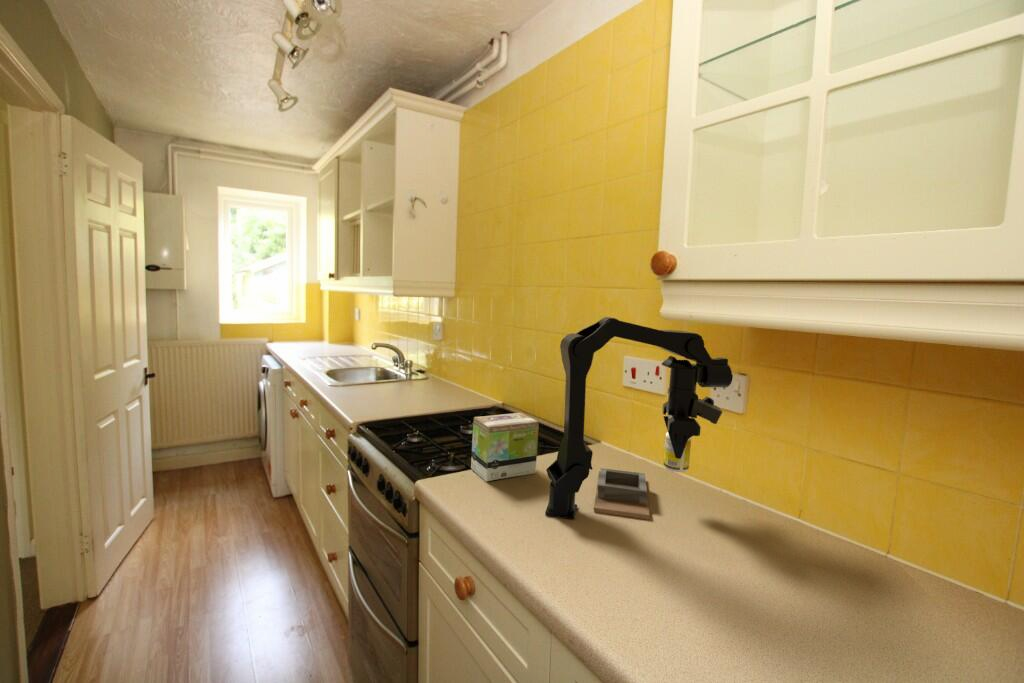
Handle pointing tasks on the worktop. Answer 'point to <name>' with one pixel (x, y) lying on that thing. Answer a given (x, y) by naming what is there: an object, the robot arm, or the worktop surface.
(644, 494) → the board
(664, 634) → the worktop surface
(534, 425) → the tea box
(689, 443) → the supplement bottle
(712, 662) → the worktop surface
